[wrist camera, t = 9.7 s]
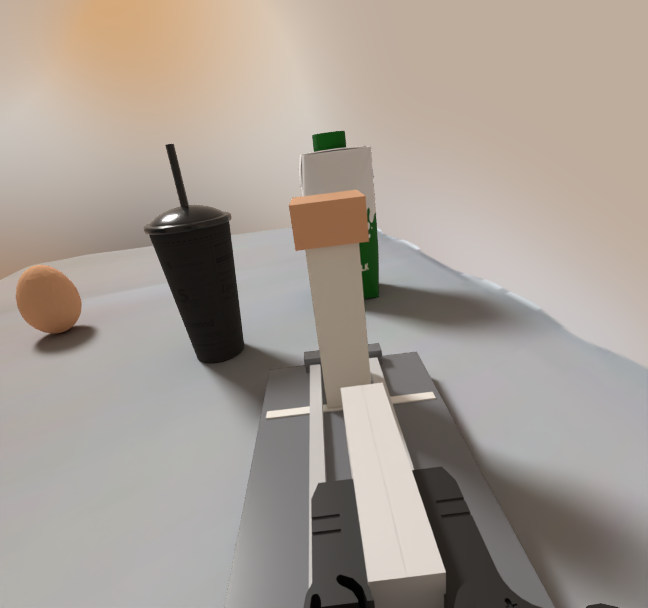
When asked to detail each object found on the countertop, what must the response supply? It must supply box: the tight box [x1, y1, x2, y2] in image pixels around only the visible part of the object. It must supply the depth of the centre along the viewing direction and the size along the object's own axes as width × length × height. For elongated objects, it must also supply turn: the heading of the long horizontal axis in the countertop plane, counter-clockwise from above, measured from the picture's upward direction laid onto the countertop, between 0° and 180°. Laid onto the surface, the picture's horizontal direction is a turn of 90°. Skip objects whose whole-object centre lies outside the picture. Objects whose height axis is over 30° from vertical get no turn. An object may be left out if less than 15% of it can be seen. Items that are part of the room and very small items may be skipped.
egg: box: [16, 265, 82, 334], centre depth 49 cm, size 7×7×9 cm
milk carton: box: [299, 131, 379, 299], centre depth 48 cm, size 9×9×20 cm
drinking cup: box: [144, 144, 244, 363], centre depth 36 cm, size 8×8×20 cm
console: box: [224, 343, 555, 608], centre depth 21 cm, size 22×12×3 cm, turn 2°
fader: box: [289, 190, 371, 408], centre depth 24 cm, size 4×4×13 cm
